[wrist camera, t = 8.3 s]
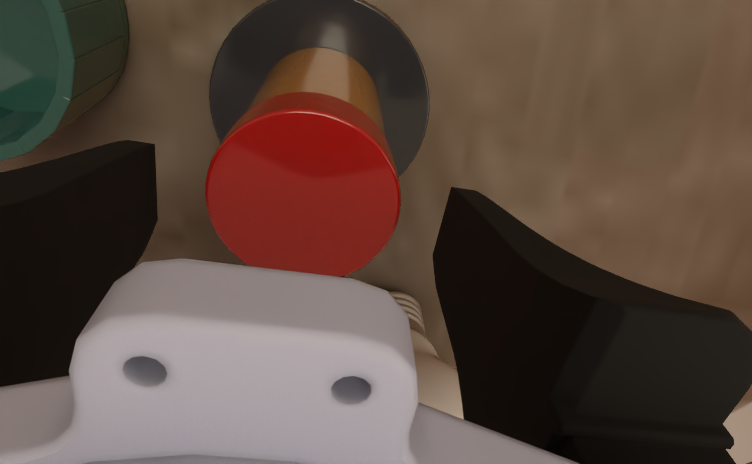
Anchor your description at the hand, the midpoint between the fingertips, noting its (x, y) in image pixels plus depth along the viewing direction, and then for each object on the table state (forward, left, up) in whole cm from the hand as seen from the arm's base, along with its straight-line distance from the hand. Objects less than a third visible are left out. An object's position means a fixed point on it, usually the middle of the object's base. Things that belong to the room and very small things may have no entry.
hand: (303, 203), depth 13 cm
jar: (0, 0, -7) cm, 7 cm away
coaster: (0, 0, -8) cm, 8 cm away
